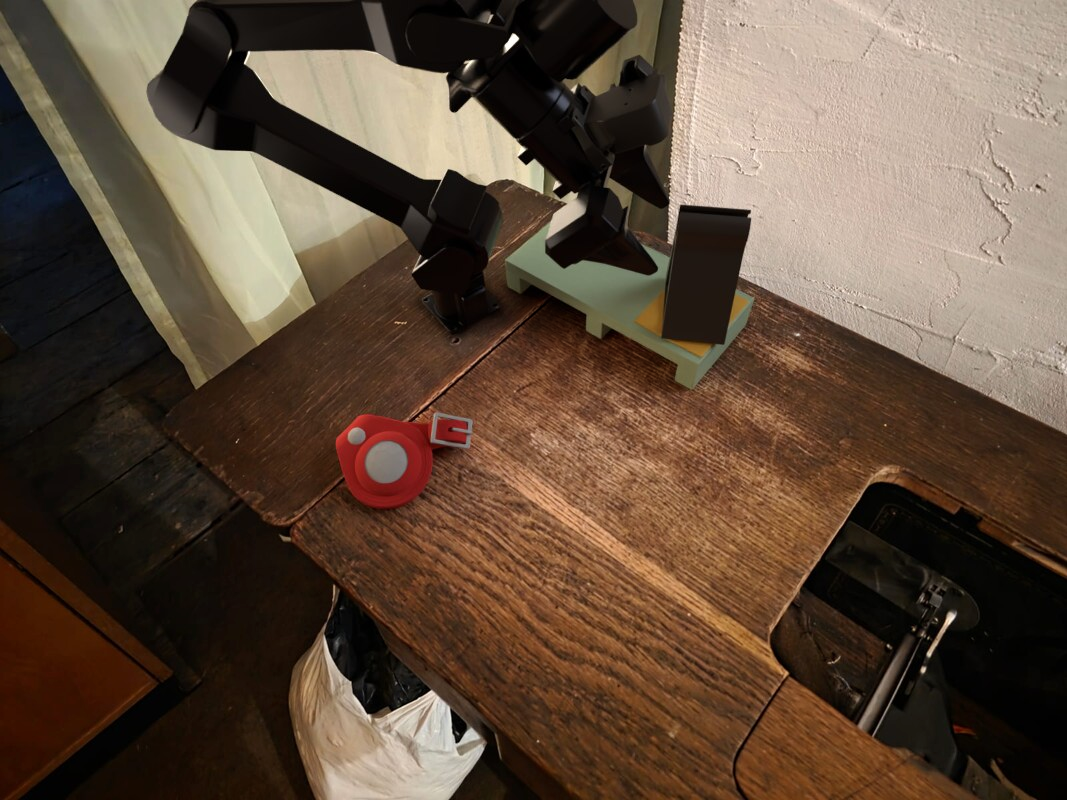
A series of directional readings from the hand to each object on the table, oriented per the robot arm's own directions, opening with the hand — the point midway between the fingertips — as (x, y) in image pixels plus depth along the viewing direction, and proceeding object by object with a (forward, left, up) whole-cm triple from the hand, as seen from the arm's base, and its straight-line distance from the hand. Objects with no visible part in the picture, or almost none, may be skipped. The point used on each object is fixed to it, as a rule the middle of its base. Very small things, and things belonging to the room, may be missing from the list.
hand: (660, 237), depth 61 cm
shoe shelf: (-5, +1, -13) cm, 14 cm away
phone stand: (+3, +3, -9) cm, 10 cm away
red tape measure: (-2, -28, -13) cm, 31 cm away
